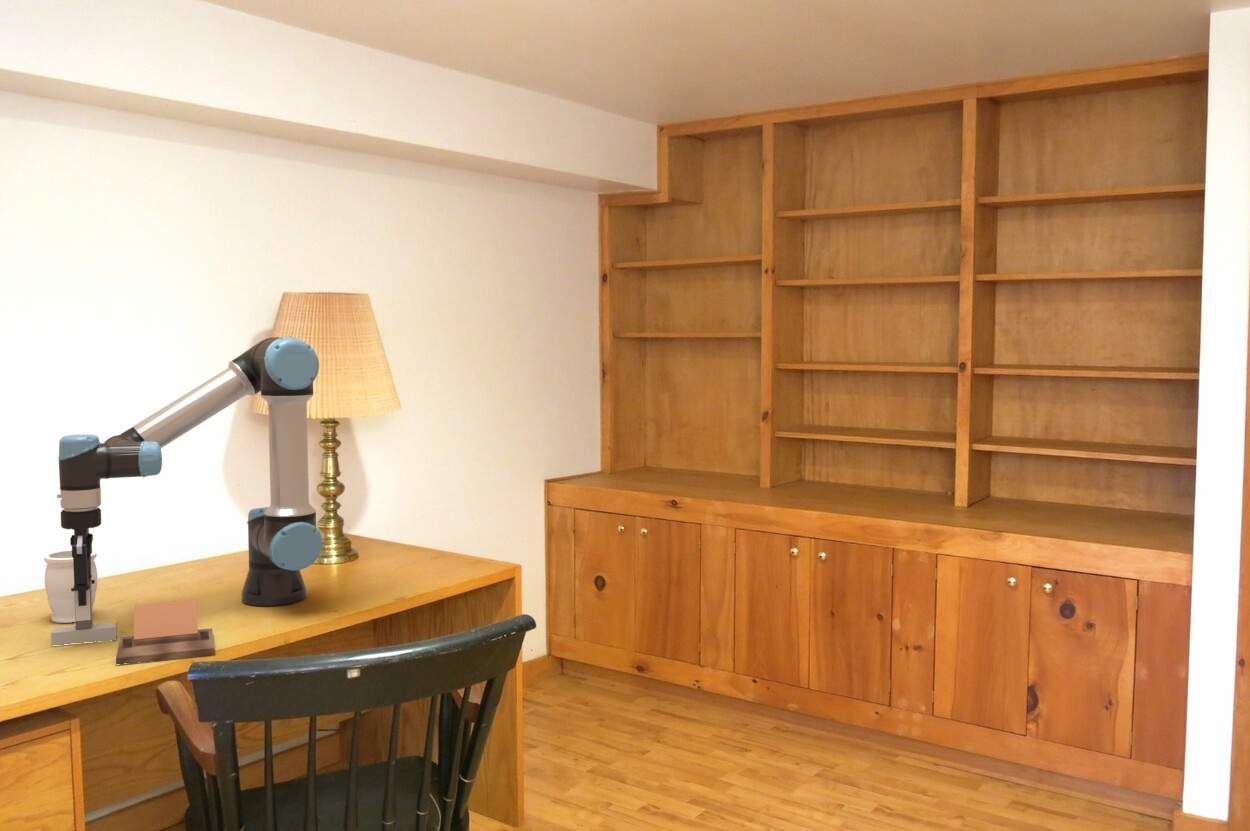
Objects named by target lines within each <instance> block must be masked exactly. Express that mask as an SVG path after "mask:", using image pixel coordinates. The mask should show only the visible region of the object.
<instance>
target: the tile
mask: <svg viewBox="0 0 1250 831" xmlns="http://www.w3.org/2000/svg"><path fill="white" fill-rule="evenodd" d="M198 624H199V623H198V600H197V599H194V600H193V599H191V600H181V601H180V600H179V601H169V602H157V603H149V604H135V605H133V631H134V632H133V636H134V641H135V640H145V639H155V638H165V637H175V636H186V635H196V634H198V630H199V629H198V626H199V625H198Z"/></svg>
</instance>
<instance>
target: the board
mask: <svg viewBox="0 0 1250 831" xmlns="http://www.w3.org/2000/svg"><path fill="white" fill-rule="evenodd" d="M213 631H214V630H213V628H202V629H201V628H200V629H198V634H196V635H186V636H175V637H165V638H155V639H145V640H135V641H134V635H131V636H120V637H119V641H118V647H117V652H116V657H115V665H116V664H124V663H136V664H142V663H141V662H146V663H151V662H150V661H155V662H163V661H162V660H165V661H171V660H172V661H173V660H182V659H190V658H201V657H208V656H215V643H214V635H213V634H214V633H213ZM138 662H140V663H138Z"/></svg>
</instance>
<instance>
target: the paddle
mask: <svg viewBox="0 0 1250 831" xmlns="http://www.w3.org/2000/svg"><path fill="white" fill-rule="evenodd" d="M89 589H90V614H91V620H84V621H76V609H75V622H74V623H75V625H70V626H60V627H59V626H58V627H53V628H52V630H51V633H50V640H51V641H50V642H51V645H52V646H53V645H64V644H71V643H84V642H95V641H96V642H98V641H110V640H116V641H117V638H116V637H118V636H117V635H118V632H117V631H118V630H117V628H118V626H117V622H116V621H115V622H105V623H104V622H103V623H94V621H93V620H94V613H93V612H94V611H93V606H92V579H89ZM110 642H111V641H110ZM52 646H51V647H52Z"/></svg>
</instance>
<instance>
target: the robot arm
mask: <svg viewBox="0 0 1250 831" xmlns="http://www.w3.org/2000/svg"><path fill="white" fill-rule="evenodd" d="M319 361H320V360H319V357H318V354H317V352H316V351H315V350H314V348H313V347H312V346H311V344H309V343H307V342H305V341H303V340H301V339H298V338H295V337H288V336H285V337H279V336H277V337H275V336H274V337H267V338H264V339H262V340H261V341H259V342H257V343H256V344H254V345H253V346H252V347H250V348H249V349H247V350H245V351H244V352H243V353H242V354H239V355H238V356H237V357H235V358H234V359H232V360H230V361H229V362H228V366H227V368H225V369H224V370H222V371H221V372H219V373H217V374H216V375H214V376H212V378H210V379H208V380H206V381H205V382H203V383H202V384H200V385H198V386H196V387H195V388H193V389H192V390H190V391H188V392H187V393H185V394H183V395H182V396H180V397H179V398H177V399H176V400H174V401H172V402H170V403H169V404H167V405H165V406H164V407H162V408H161V409H159V410H157V411H156V412H154V413H153V414H151V415H149V416H148V417H146V418H145V419H142V420H141V421H140V422H138V423H136V424H135V425H133V426H132V427H129V429H127V430H125V431H124V432H122V433H120V434H117V435H113V436H110V437H108V438H107V439H105V441H103V443H101V441H100V437H99V436H98V435H96V434H69V435H64V436H62V437H61V438H60V439H59V442H58V443H59V445H58V457H57V459H58V467H59V468H58V472H59V476H58V477H59V489H60V491H59V493H57V494H56V498H57V499H60V507H61V509H62V510H61V511H60V526H61V528H62V529H65V530H73V534H72V535H71V537H70V546H71V551H72V557H73V566H74V588H71V591H75V609H76V621H84V620H91V614H90V589H89V579H91V578H92V575H91V553H92V551H93V540H94V537H93V536H94V534H93V533H90V529H93V528H98V527H100V525H102V509H101V508H100V506H101V505H102V492H101V490H102V489H101V480H103V479H104V480H108V479H117V478H119V479H120V478H121V479H122V478H141V477H142V478H146V477H152V476H157V475H159V474H160V473H161V471H162V467H163V466H162V465H163V454H162V450H161V449H162V448H164V447H165V446H168V445H169V444H170V443H172V442H174V441H176V440H177V439H178V438H181V437H182V436H183V435H185V434H186V433H187V432H190V431H191V430H193V429H195V428H196V427H197V426H199V425H200V424H202V423H204V422H206V421H208V420H209V419H210V418H212V417H213V416H215V415H217V414H218V413H220V412H221V411H223V410H224V409H226V408H228V407H229V406H231V405H233V404H235V403H236V402H238V401H239V400H240V399H243V397H245V396H255V395H256V394H258V393H260V396H261V397H262V399H264V401H265V402H266V403H267V405H268V406H267V412H268V414H267V415H268V447H269V448H268V450H269V451H268V452H269V487H270V488H269V490H270V492H269V493H270V505H269V506H266V507H257V508H251V509H250V511H248V514H247V522H246V523H247V532H248V533H247V534H248V536H247V537H248V538H247V539H248V540H247V541H248V542H247V543H248V570H247V571H248V572H247V575H246V578H245V581H244V584H243V587H242V590H241V601H242V603H243V604H245V605H250V606H255V607H257V606H258V607H275V606H276V607H277V606H286V605H291V604H294V603H298V602H302V601H303V600H305V599H306V598H307V586H306V584H305V580H304V577H303V576H302V572H301V570H303V569H307V568H308V567H310V566H311V565H313V564H314V563H315V562H316V560H318V559H319V557H320V555H321V552H322V551H323V544H324V543H323V536H322V534H321V532H320V530H319V529H318V527H317V510H316V508H314V506H313V505H311V503H310V496H309V495H310V494H309V492H310V490H309V489H310V488H309V487H310V486H309V484H310V483H309V449H308V448H309V447H308V446H309V444H308V443H309V442H308V439H309V438H308V402H309V401H310V399H312V398H313V397H314V381H315V380H316V378H317V376H318V374H319V370H320V362H319ZM92 584H95V580H92Z"/></svg>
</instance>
